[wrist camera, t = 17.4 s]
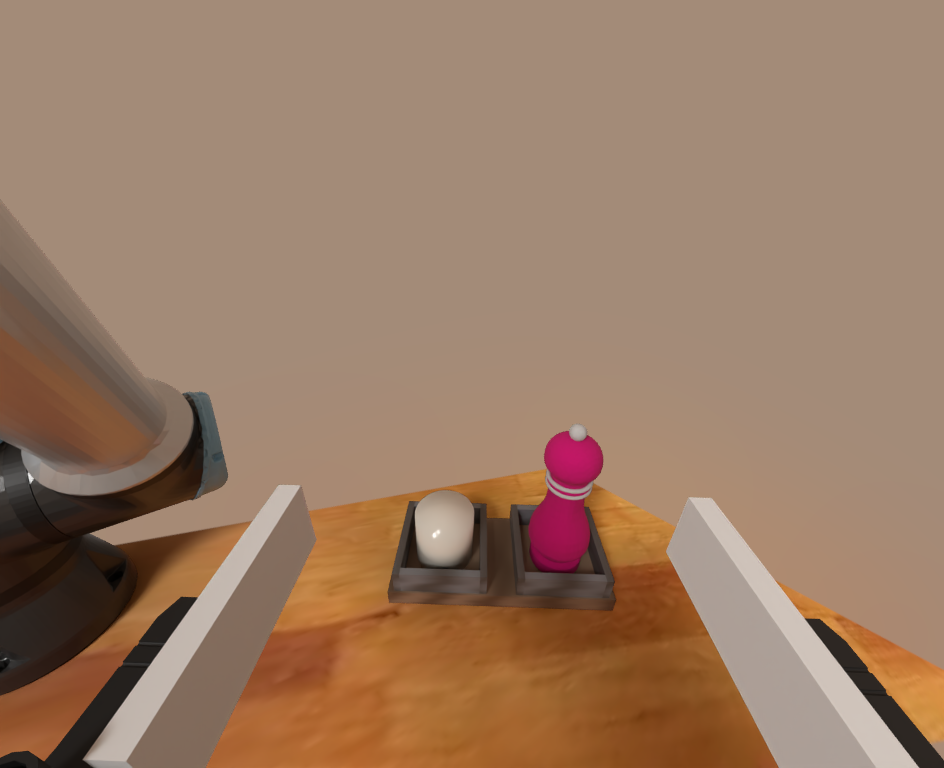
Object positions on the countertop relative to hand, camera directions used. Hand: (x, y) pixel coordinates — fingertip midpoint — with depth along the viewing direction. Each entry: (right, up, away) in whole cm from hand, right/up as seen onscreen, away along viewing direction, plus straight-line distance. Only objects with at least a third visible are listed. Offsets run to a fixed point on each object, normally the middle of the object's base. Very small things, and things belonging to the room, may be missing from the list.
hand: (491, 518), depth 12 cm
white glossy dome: (-4, -17, +32) cm, 37 cm away
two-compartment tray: (+3, -19, +33) cm, 38 cm away
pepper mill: (+10, -17, +32) cm, 38 cm away
